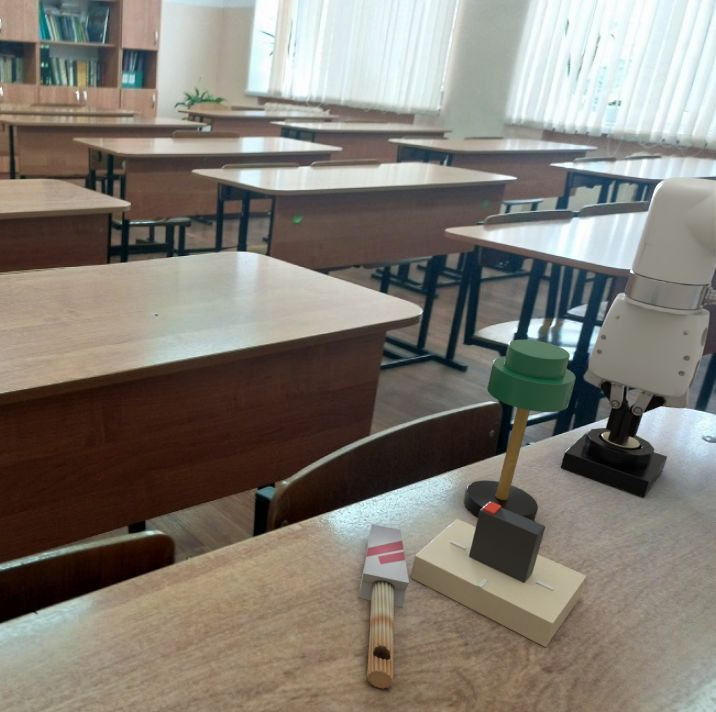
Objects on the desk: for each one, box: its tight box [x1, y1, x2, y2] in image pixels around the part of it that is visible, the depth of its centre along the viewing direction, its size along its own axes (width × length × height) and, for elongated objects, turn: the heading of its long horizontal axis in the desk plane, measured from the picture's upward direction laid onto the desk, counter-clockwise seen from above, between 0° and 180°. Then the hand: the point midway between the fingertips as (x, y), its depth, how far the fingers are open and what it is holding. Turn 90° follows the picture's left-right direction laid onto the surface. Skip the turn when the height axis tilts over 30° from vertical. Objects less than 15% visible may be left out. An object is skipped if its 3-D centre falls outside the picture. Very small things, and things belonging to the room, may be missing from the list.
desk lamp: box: [463, 339, 577, 522], centre depth 76 cm, size 8×8×19 cm
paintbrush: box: [357, 524, 410, 689], centre depth 64 cm, size 4×3×20 cm
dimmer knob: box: [469, 502, 546, 582], centre depth 65 cm, size 5×2×5 cm, turn 46°
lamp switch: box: [560, 427, 668, 499], centre depth 89 cm, size 9×9×4 cm
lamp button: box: [601, 432, 640, 450], centre depth 88 cm, size 4×4×2 cm
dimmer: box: [410, 518, 588, 648], centre depth 66 cm, size 12×9×3 cm
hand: (618, 438), depth 88 cm, fingers closed
